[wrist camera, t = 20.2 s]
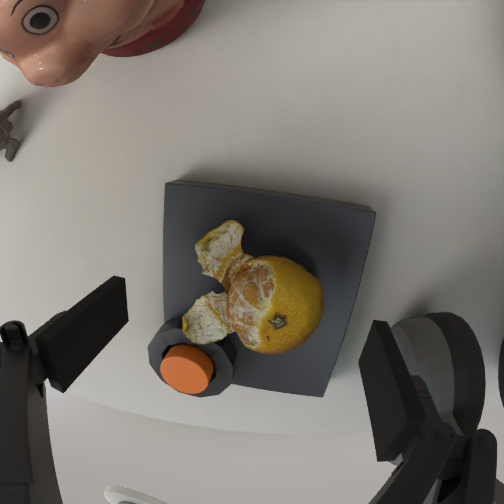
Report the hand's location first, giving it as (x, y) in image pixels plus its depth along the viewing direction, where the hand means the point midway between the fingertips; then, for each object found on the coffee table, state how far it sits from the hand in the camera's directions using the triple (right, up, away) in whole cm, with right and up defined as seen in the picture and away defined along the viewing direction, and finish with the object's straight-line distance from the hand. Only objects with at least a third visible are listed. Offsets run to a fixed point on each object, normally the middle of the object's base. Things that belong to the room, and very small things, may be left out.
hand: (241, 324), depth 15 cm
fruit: (0, +2, +4) cm, 4 cm away
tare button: (-4, -5, +6) cm, 8 cm away
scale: (+1, +1, +7) cm, 7 cm away
